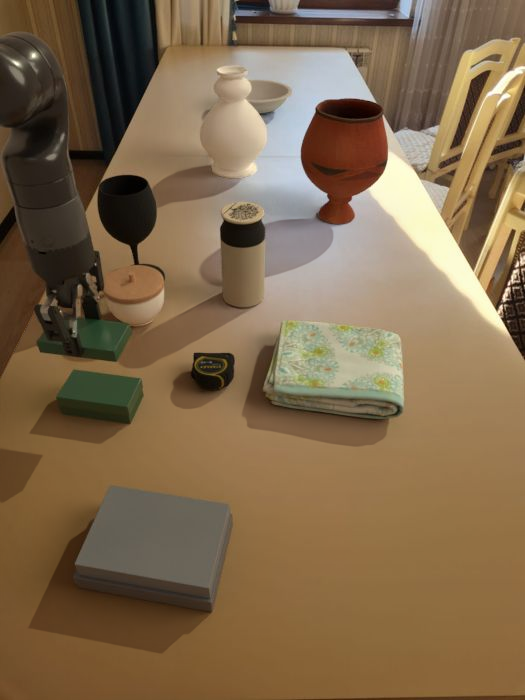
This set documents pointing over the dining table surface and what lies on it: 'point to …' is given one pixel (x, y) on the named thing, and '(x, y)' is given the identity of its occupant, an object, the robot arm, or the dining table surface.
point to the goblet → (344, 153)
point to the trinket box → (134, 294)
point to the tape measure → (213, 370)
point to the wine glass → (128, 211)
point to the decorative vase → (233, 126)
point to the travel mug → (242, 254)
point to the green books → (100, 396)
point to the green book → (93, 339)
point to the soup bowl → (267, 95)
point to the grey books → (156, 548)
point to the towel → (337, 370)
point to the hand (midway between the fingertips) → (85, 338)
